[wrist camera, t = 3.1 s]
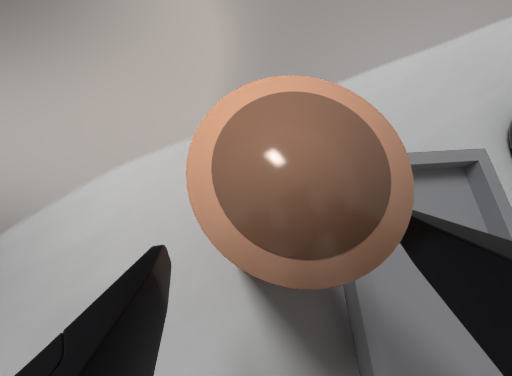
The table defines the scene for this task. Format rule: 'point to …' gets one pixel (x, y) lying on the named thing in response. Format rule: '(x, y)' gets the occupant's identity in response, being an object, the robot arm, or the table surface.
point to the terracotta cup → (300, 182)
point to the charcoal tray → (417, 287)
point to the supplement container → (510, 134)
